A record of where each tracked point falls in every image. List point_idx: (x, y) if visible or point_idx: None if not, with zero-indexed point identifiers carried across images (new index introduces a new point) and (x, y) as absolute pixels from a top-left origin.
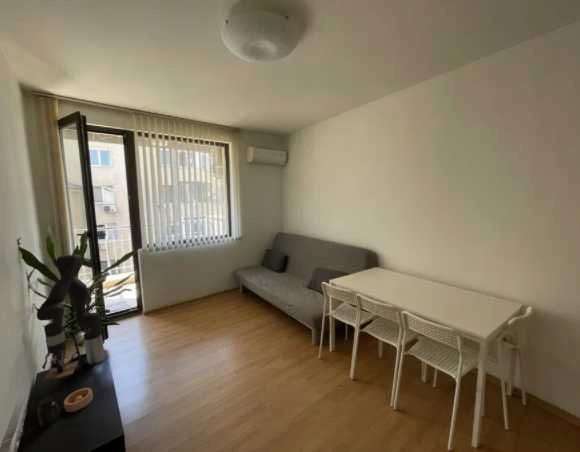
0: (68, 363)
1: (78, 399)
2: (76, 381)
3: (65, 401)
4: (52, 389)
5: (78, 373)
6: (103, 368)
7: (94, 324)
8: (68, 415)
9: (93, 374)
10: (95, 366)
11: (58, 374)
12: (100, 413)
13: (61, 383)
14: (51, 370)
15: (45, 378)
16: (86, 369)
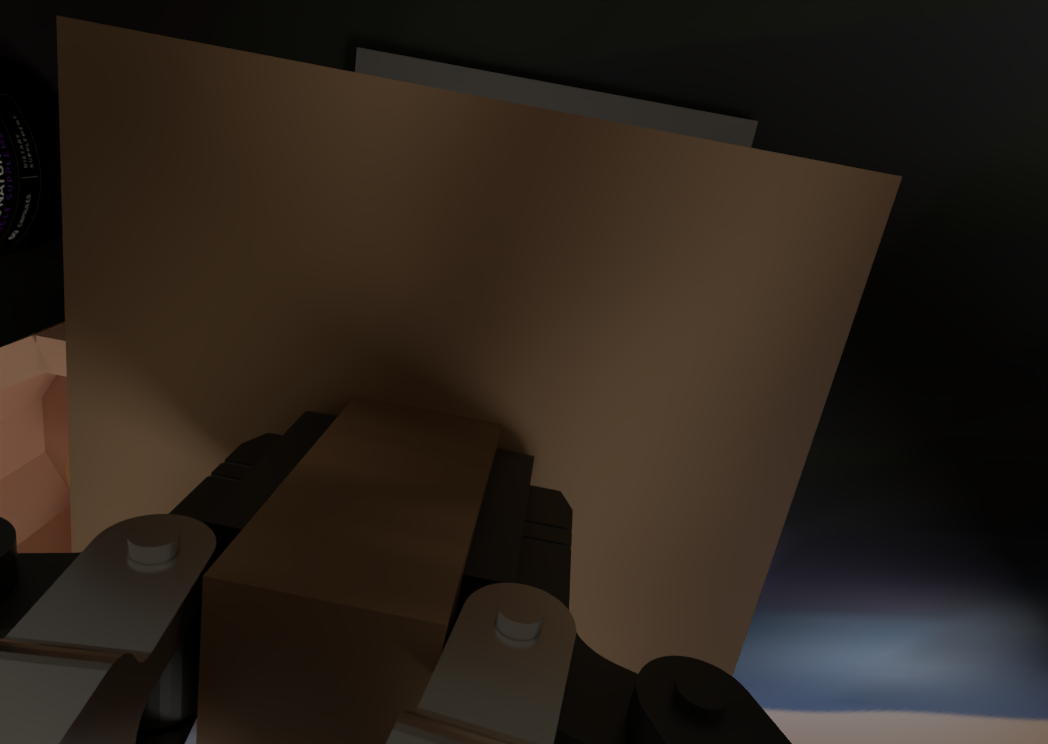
0: (739, 627)
1: (67, 481)
2: None
3: (44, 356)
4: (867, 81)
5: (1027, 416)
6: (830, 687)
7: None
8: (24, 332)
9: (780, 582)
10: (1004, 614)
11: (233, 422)
12: None
13: (941, 200)
14: (706, 209)
15: (251, 86)
16: (1041, 513)
